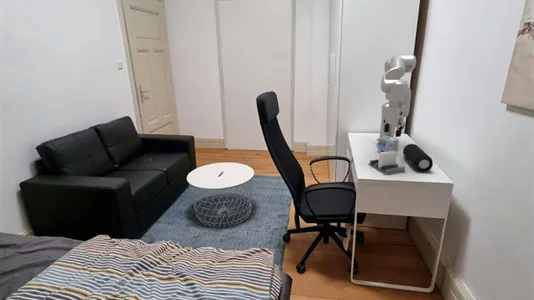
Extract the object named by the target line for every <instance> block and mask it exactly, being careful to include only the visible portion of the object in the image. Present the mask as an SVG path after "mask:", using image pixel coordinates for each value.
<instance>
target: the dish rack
mask: <svg viewBox="0 0 534 300" xmlns="http://www.w3.org/2000/svg"><path fill="white" fill-rule="evenodd" d="M378 162H379V158H378V159H372V160H369V163H368V166H370V167H371V168H373V169H375V170H376V171H378V172H380V173H382V174H383V175H385V176H390V175H396V174H402V173H406V170H405V168H406V167H405V166H400V165H399V163H396V164H393V165H386V166H380V168H379V167H378ZM399 166H400V167H399Z"/></svg>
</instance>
